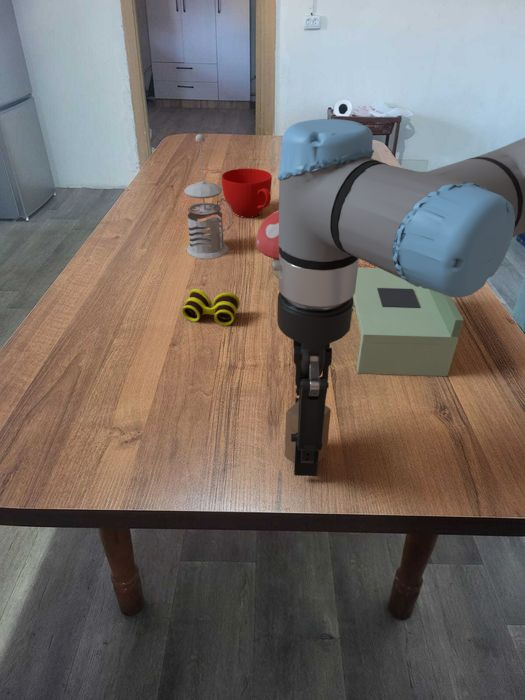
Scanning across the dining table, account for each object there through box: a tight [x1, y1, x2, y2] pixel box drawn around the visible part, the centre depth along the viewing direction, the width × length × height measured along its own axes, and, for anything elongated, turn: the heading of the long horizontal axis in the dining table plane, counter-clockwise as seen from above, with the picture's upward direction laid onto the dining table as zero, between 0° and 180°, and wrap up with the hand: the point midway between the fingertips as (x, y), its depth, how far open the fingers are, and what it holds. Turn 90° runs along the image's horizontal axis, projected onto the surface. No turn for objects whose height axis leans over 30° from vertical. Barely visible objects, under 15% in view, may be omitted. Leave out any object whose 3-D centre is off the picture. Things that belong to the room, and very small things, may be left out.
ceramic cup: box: [221, 167, 273, 218], centre depth 128 cm, size 13×17×10 cm
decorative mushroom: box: [255, 209, 279, 280], centre depth 97 cm, size 13×13×15 cm
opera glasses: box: [181, 288, 241, 327], centre depth 89 cm, size 10×5×5 cm, turn 77°
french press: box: [183, 133, 234, 260], centre depth 106 cm, size 10×12×25 cm
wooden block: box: [284, 401, 332, 464], centre depth 60 cm, size 4×4×8 cm
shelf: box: [353, 266, 464, 377], centre depth 83 cm, size 22×14×10 cm, turn 177°
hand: (304, 454), depth 62 cm, fingers closed on wooden block, 5 cm apart
